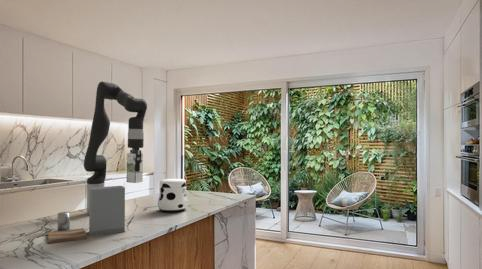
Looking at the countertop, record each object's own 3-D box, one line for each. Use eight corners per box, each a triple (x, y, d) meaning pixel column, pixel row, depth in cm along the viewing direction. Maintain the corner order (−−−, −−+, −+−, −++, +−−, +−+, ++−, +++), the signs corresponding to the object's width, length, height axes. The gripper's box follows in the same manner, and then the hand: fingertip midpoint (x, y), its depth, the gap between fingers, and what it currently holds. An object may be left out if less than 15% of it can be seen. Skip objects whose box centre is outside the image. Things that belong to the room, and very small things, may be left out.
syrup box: (143, 181, 165) (143, 152, 165) (135, 183, 160) (136, 153, 160) (133, 181, 167) (134, 152, 167) (125, 182, 162) (126, 153, 162)
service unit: (89, 231, 150) (89, 187, 151) (121, 227, 158) (121, 185, 158) (91, 236, 143) (91, 190, 143) (124, 231, 150) (124, 187, 150)
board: (48, 235, 145) (48, 232, 145) (83, 230, 152) (83, 228, 152) (48, 243, 132) (48, 240, 132) (86, 238, 139) (86, 235, 139)
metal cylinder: (57, 229, 154) (57, 212, 154) (69, 228, 156) (69, 211, 156) (57, 232, 149) (57, 214, 150) (69, 230, 152) (70, 213, 152)
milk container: (193, 209, 199) (193, 179, 200) (173, 214, 185) (173, 182, 185) (172, 206, 208) (172, 178, 209) (151, 211, 194) (151, 180, 194)
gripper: (146, 138, 160) (146, 171, 159) (140, 138, 172) (139, 169, 172) (130, 138, 156) (130, 172, 156) (125, 138, 168) (124, 170, 168)
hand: (135, 170), depth 164 cm, fingers closed on syrup box, 8 cm apart
